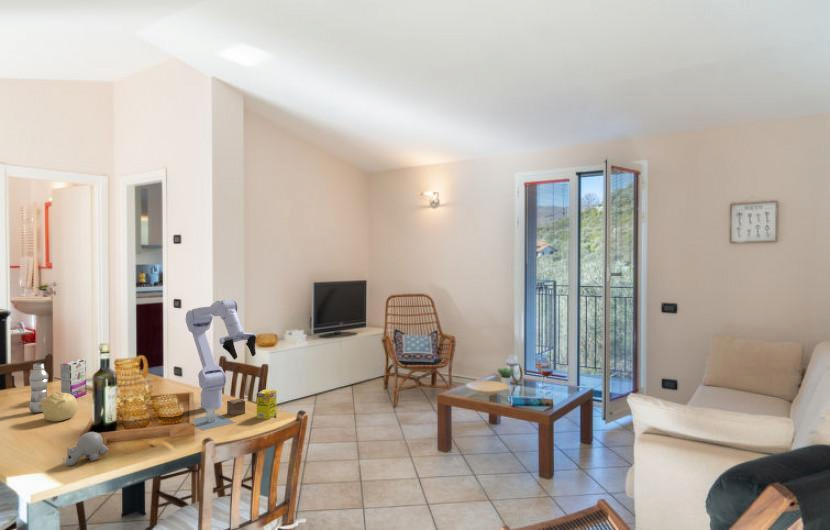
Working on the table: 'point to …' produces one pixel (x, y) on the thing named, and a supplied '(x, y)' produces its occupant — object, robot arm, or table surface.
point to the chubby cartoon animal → (86, 448)
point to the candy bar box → (74, 377)
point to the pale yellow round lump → (59, 406)
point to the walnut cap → (235, 407)
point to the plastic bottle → (38, 387)
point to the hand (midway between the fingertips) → (245, 356)
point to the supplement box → (266, 404)
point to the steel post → (210, 415)
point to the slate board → (218, 422)
